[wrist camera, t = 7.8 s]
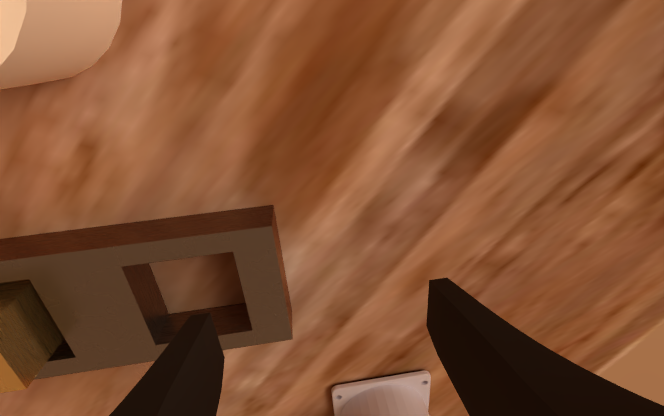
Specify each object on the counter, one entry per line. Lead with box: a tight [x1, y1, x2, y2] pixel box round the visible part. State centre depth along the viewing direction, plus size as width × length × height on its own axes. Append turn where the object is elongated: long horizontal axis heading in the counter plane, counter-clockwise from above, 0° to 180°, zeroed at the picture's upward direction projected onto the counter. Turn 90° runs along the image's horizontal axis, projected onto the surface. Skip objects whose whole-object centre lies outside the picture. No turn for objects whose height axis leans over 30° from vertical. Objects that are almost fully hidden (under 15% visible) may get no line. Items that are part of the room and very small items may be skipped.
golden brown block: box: [0, 279, 64, 393], centre depth 18 cm, size 4×4×5 cm
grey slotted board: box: [0, 205, 292, 379], centre depth 19 cm, size 22×8×2 cm, turn 94°
